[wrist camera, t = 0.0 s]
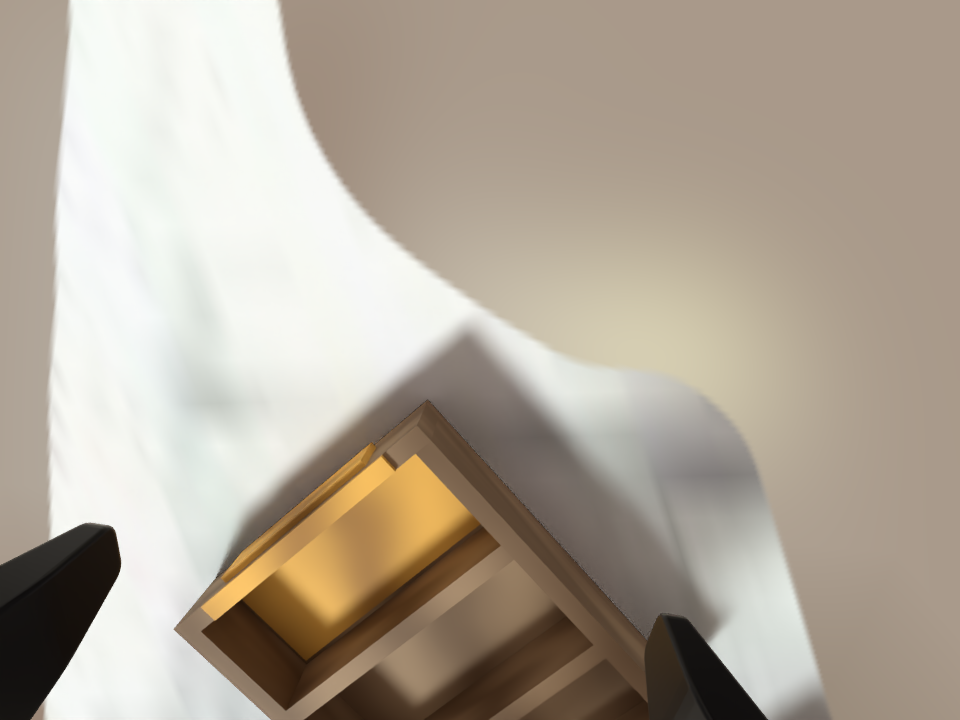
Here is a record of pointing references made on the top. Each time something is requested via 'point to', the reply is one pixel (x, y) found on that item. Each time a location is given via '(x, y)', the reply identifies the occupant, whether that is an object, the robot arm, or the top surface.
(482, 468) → the rack
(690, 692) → the robot arm
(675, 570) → the top surface
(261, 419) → the top surface
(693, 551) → the top surface
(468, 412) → the top surface
